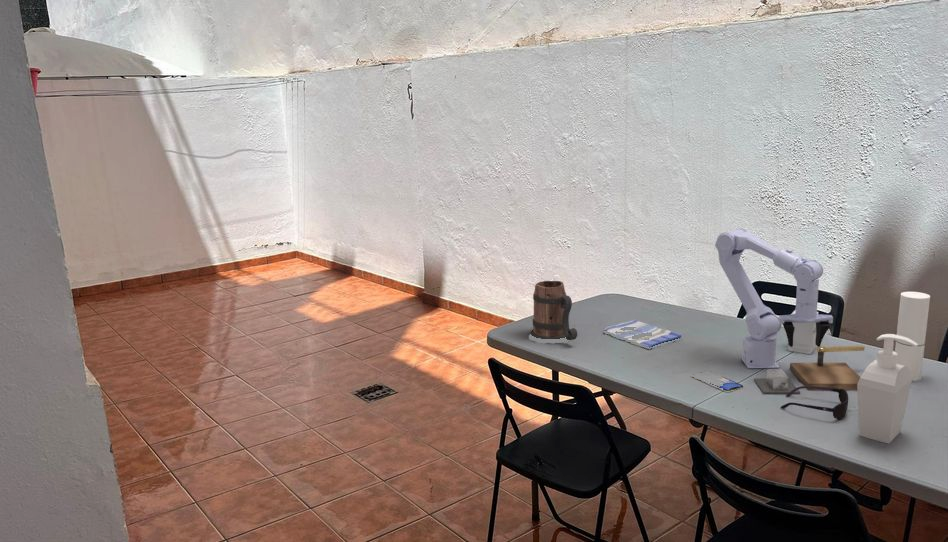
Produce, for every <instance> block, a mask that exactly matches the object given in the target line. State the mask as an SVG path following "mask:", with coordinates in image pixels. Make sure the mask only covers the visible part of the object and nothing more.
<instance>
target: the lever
mask: <svg viewBox="0 0 948 542" xmlns="http://www.w3.org/2000/svg"><path fill="white" fill-rule="evenodd" d="M816 348H817V349H816V352H817V353H818V352H820V353H824V354H825V353H834V352H835V353H838V352H839V353H841V352H861V351H862V352H864V351H865V346H864V345H845V346H843V345H841V346H839V345H838V346H821V345H820V347H818V346H816Z"/></svg>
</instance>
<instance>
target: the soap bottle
mask: <svg viewBox="0 0 948 542" xmlns="http://www.w3.org/2000/svg"><path fill="white" fill-rule="evenodd" d="M881 340H884V341H883V349H882V350H878V352H877V358H876V359H874V360H873V361H871V362H870V363H869V364H868V365H867V367H866V368H865V370H864V371H863V373H862V375H861V376H860V380H859V382H858V384H857V390H856V391H857V411H858V414H857V415H858V416H857V417H858V436H860V437H864V438H867V439H870V440H874V441H877V442H881V443H885V444H888V445H890V443H892V441H893V440H894V439H895V438H896V437H897V436H898V434H900V433H901V431H902V430H901V429H902V425H903V420H904V416H905V412H906V409H907V403H908V398H909V394H910V390H911V386H912V382H913V381H912V375H911V372H910V370H909V368H908V367H906V366H903V365H899V364H897V356H898V354H897V353H896V352H895V351H894V343H895V341H896V340H897V341H902V342H905V343H908V344H910V345H912V346H914V347H916V346H917V345H918V344H917V343H916V342H914V341H913V340H911V339H909V338H907V337H903V336H899V335H897V334H894V333H885V334H881V335H879V336H878V337H876V341H881Z"/></svg>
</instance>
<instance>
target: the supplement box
mask: <svg viewBox="0 0 948 542" xmlns="http://www.w3.org/2000/svg"><path fill="white" fill-rule="evenodd" d="M795 311H796V308H795V309H794V310H793V311H792V313H791V314H795ZM817 314H819V311H817ZM792 324H793V326H794V327H795V329H794V334H793V347H790V346H789V345H788V344H787V351H789V352H794V353H800V354H807V355H812V353H813V352H814V350H815V349H816V348H817V345H816V344H815V340H816V323H792Z"/></svg>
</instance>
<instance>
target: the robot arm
mask: <svg viewBox="0 0 948 542" xmlns="http://www.w3.org/2000/svg"><path fill="white" fill-rule="evenodd" d="M714 247H715V248H716V250H717V253H718V260H719V262H718V263H719V264H720V266H721V268H722V270H723V272H724V274H725V276H726V277H727V280H728V281H729V283H730V284H731V287H732V288H733V290H734V291H735V293H736V296H737V297H738V299H739V301H740V303H741V304H742V306H743V308H744V309H745V312H746V315H745V318H744V320H745V322H746V324H747V325H746V326H747V332H748V334H749V335H750V336H747V337H746V336H745V337H744V338H743V341H742V356H741V360H742V362H743V363H744V365H745V366H746V367H747V368H748V369H780V365H779V364H778V362H776V355H777V354H776V351H777V335H778V332H780V330H781V329H782V327H783V329H784V331H785V333H786V338H787V341H788V342H787V346H788V345H789V346H790V347H793V334H794V329H795V327H794V326H793V324H792V323H816V340H815V344H816V347H820V346H821V345H822V342H823V339H824V338H825V335H826V334H827V332H828V330H830V328H831V325H830V324H833V321H834V317H833V315H831V314H819V313H818V314H817V312H818V299H819V282H820V278H821V277H822V276H823V274H824V268H823V266H822V264H821V263H820V262H818V261H817V260H816V259H810V260H808V258H807V257H805V256H803V257H802V256H800V255H798V254H797V253H794V252H793V249H791V248H782V249H778V248H777V247H775V246H773V245H771V244H769V243H768V242H766V241H765V240H763V239H762V238H759V237H758V236H756V235H754V234H753V232H751V231H750V230H749V231H747V230H746V229H745V228H742V227H740V228H739V227H738V228H736V229H733V230H730V231H727V232H726V231H724V232H721V233H720V234H719V235H718V236H717V238H716V241H715V245H714ZM745 250H751V251H753V252H755V253H758V254H759V255H762V256H764V257H766V258H768V259H771V260H772V262H773V264H774V266H775V267H776V268H780V269H781V270H782V271H785V272H787V273H789V274H791V275H792V276H793V277H794V279H795V280H796V297H795V298H796V299H795V309H796V311H795V314H792V313H791V314H785V315H781V314H780V315H777V314H775V313H774V311H773V310H772V309H771V308H770V307H769V306H766V305H765V304H764V303H763V301H762V300H761V298H760V296H759V294H758V292H757V291H756V289H755V286H753V283H752V282H751V280H750V278H749V276H748V275H747V273H746V270H745V269H744V267H743V265H742V264H741V262H740V259H741V256H742V254H743V252H744V251H745Z"/></svg>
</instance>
